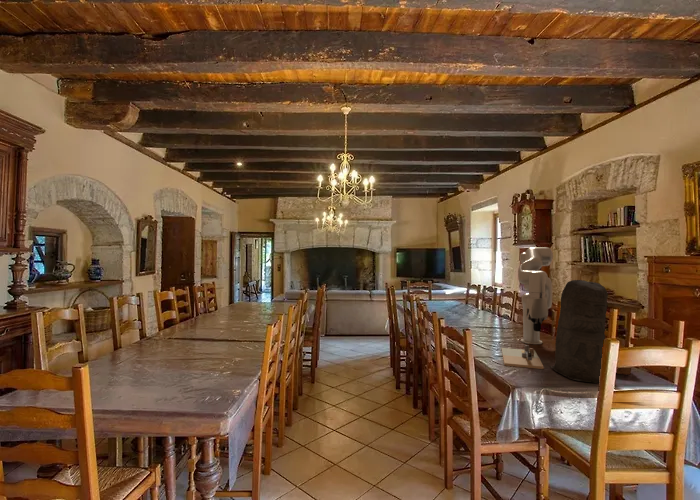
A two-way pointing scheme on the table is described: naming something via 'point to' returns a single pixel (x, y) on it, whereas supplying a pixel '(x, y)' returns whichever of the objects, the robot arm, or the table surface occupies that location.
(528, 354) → the swing bar
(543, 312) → the robot arm
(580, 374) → the stone sculpture
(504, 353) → the door and jamb board
